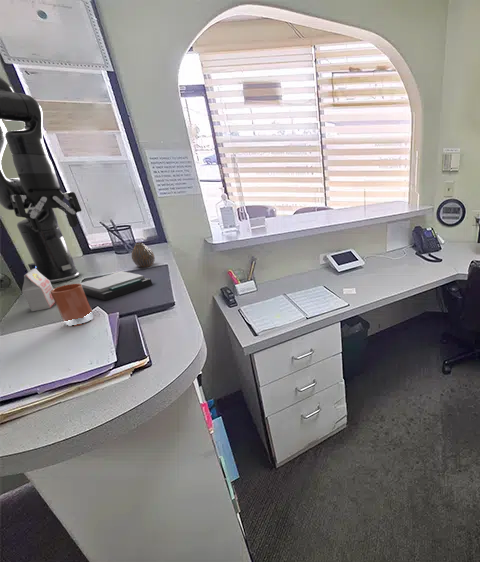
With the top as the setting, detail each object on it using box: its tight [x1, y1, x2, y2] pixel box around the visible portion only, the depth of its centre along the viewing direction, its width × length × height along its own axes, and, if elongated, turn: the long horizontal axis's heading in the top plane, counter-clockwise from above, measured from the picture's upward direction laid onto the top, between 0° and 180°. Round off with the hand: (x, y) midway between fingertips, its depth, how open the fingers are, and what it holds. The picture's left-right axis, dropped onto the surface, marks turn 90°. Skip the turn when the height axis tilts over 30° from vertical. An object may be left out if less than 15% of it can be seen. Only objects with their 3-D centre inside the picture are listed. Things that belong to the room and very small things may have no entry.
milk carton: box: [21, 268, 56, 312], centre depth 85 cm, size 4×7×10 cm, turn 31°
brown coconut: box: [130, 242, 156, 268], centre depth 117 cm, size 7×7×9 cm
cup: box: [50, 283, 93, 327], centre depth 75 cm, size 5×5×9 cm
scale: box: [78, 270, 153, 301], centre depth 96 cm, size 15×13×3 cm
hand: (56, 229), depth 93 cm, fingers open, 8 cm apart
